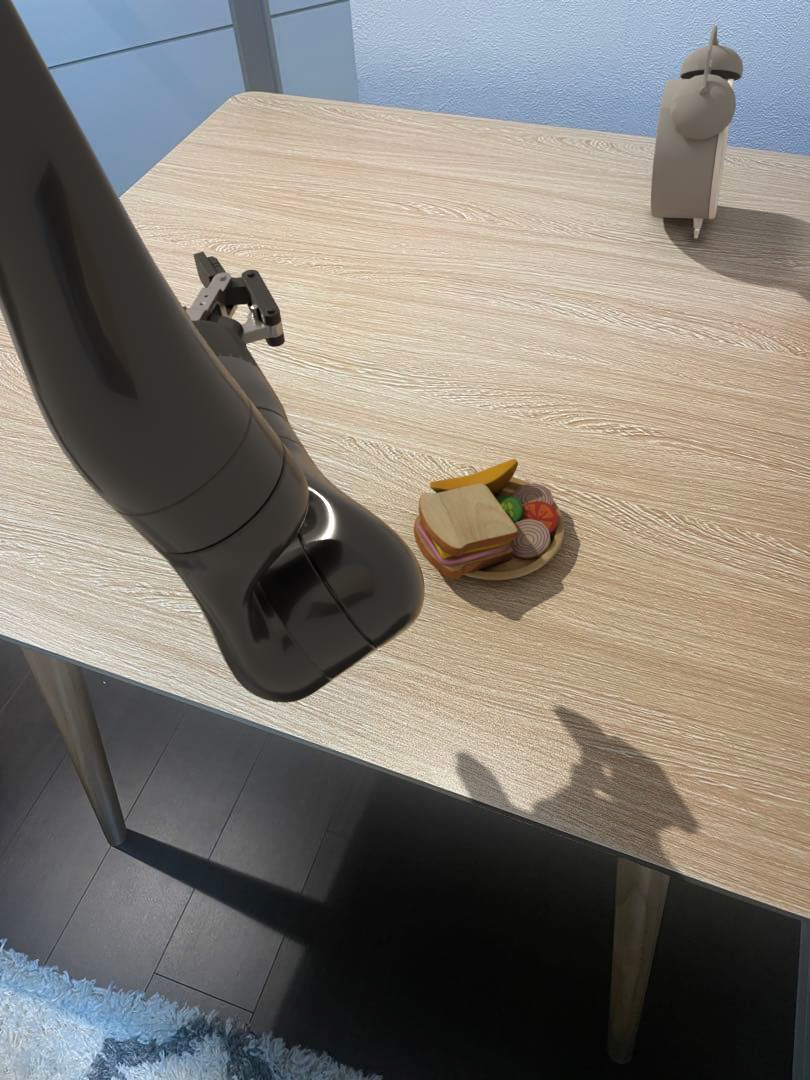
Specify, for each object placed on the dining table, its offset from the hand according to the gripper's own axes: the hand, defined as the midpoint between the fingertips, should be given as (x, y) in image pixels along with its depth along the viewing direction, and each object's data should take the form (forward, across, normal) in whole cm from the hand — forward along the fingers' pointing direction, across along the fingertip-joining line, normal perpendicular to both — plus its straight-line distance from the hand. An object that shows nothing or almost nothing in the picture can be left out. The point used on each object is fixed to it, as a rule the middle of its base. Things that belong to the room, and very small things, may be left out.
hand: (142, 280), depth 65 cm
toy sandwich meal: (-13, -21, +26) cm, 36 cm away
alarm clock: (+23, -69, +26) cm, 77 cm away
